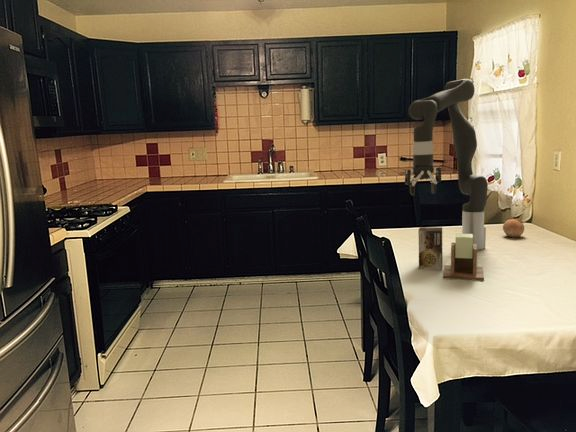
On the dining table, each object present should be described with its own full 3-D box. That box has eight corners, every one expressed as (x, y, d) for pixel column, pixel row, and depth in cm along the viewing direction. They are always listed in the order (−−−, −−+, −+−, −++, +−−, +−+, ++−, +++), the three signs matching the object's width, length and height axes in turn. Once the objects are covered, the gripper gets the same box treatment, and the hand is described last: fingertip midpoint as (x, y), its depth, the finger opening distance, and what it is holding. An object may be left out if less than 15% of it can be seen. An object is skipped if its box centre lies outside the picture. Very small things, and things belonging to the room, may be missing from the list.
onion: (519, 241, 236) (529, 223, 234) (517, 240, 228) (527, 222, 226) (500, 233, 240) (510, 215, 239) (497, 232, 233) (507, 213, 231)
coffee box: (442, 265, 193) (443, 227, 190) (442, 270, 187) (442, 230, 184) (419, 264, 196) (419, 226, 193) (418, 269, 190) (418, 229, 187)
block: (455, 253, 184) (455, 233, 183) (471, 254, 182) (472, 233, 181) (455, 257, 179) (455, 237, 177) (472, 258, 177) (472, 237, 175)
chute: (444, 267, 190) (444, 240, 188) (482, 269, 186) (483, 242, 184) (443, 278, 178) (443, 249, 176) (484, 280, 173) (484, 251, 171)
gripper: (435, 151, 190) (435, 191, 193) (401, 153, 187) (402, 194, 190) (444, 152, 182) (444, 194, 185) (409, 154, 180) (410, 197, 183)
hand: (423, 194), depth 188 cm, fingers open, 8 cm apart
